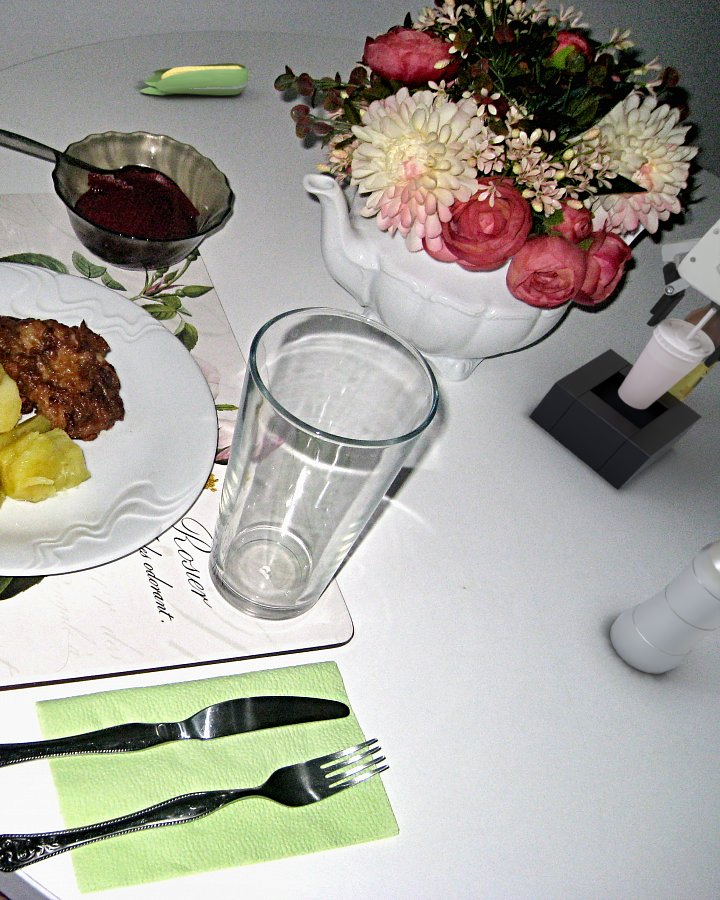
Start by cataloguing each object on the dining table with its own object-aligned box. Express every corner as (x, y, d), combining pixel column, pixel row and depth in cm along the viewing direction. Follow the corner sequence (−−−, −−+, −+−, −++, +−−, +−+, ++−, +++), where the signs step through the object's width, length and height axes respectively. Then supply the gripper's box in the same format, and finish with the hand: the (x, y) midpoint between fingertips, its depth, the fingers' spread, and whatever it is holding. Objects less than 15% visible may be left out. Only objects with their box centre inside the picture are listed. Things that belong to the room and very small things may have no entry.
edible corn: (251, 99, 152) (259, 73, 149) (145, 102, 144) (151, 75, 141) (237, 83, 155) (245, 58, 151) (133, 85, 147) (138, 59, 144)
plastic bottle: (598, 614, 92) (733, 496, 77) (662, 636, 92) (810, 523, 77) (603, 667, 88) (747, 553, 73) (670, 691, 88) (828, 582, 73)
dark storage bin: (664, 454, 111) (702, 416, 106) (613, 495, 105) (650, 456, 99) (578, 387, 117) (610, 348, 112) (524, 421, 110) (555, 382, 105)
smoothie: (607, 404, 103) (686, 312, 93) (606, 371, 108) (681, 279, 97) (661, 425, 103) (747, 334, 92) (658, 390, 107) (740, 300, 97)
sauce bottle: (670, 427, 115) (784, 309, 100) (623, 410, 115) (729, 290, 101) (666, 395, 119) (774, 277, 105) (620, 378, 120) (722, 259, 105)
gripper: (706, 163, 87) (599, 304, 100) (878, 266, 80) (738, 404, 93) (738, 148, 91) (631, 286, 104) (906, 245, 83) (768, 381, 97)
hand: (683, 340), depth 98 cm, fingers closed on smoothie, 6 cm apart
